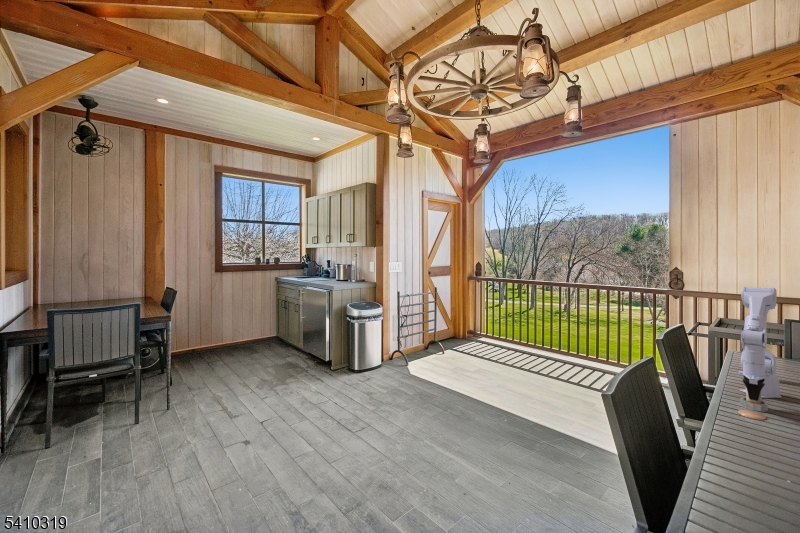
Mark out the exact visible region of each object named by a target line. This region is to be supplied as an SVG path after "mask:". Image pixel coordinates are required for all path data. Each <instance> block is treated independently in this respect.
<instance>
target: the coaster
mask: <svg viewBox="0 0 800 533" xmlns="http://www.w3.org/2000/svg"><path fill="white" fill-rule="evenodd" d="M737 414H739V415H741V416H742V417H744V418H748V419H751V420H755V421H757V420H758V421H765V420H767V417H766V415H764V414H762V413H760V412H758V411H754V410H750V409H739V410H737Z"/></svg>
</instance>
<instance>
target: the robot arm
mask: <svg viewBox="0 0 800 533" xmlns="http://www.w3.org/2000/svg"><path fill="white" fill-rule="evenodd" d="M740 292H741V293H740V294H741V295H740V296H741V301H742V305H743V306H744V307H745V308H747V309H749V315H746V316H745V318H744V325H743V330H741V333H740V342H741V349H742V352H741V357H740V368H741V369H742V370H739V371H738V374H739V375H742V376H743V379H742V382H743V384H744V386H745V388H743V389H742V388H741V389H739V391H740V392H742V393H745V394H746V388H747V391H748V395H749V398H750V399H751V400H756V401H758V399H759V395H760V391H761V399H773V398H774V399H775V398H776V399H777V398H778V399H779V398H782V396H781V394H780V379H779V377H778V376H777V375H776V374H777V360H776V359H777V358H776V356H775V354H773V353H772V352H771V351H769V350H768V349H767V344H768V335H767V326H768V325H767V316H768V313H769V311H772V310H774V309H776V306H777V300H778V299H777V289H776V288H775V287H771V288H770V287H749V286H747V287H746V286H743V287H742V288H741V291H740ZM765 357H768V358H765ZM774 374H775V375H774Z"/></svg>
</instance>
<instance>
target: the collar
mask: <svg viewBox="0 0 800 533" xmlns="http://www.w3.org/2000/svg"><path fill="white" fill-rule="evenodd" d="M739 405H740V406H741V407H742V408H745V410H749V411H754V412H759V413H760V412H761V413H762V412H768V411H769V403H768V402H767V401H765V400H762V399H761V404H756V403H751V402H748V401H746V396H742V397H740V398H739Z"/></svg>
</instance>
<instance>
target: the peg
mask: <svg viewBox="0 0 800 533" xmlns="http://www.w3.org/2000/svg"><path fill="white" fill-rule="evenodd" d="M745 389H746V393H745V397H746V401H748V402H751V403H756V404H761V400H762V398H761V391H760V395H759V399H758V401H756V400H751V399H750V398H749V395H748V391H747V388H746V387H745Z"/></svg>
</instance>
